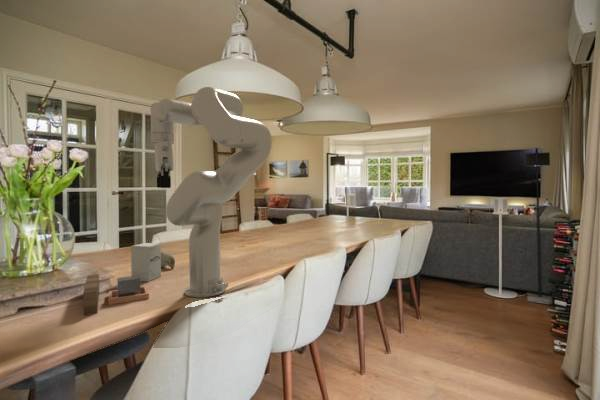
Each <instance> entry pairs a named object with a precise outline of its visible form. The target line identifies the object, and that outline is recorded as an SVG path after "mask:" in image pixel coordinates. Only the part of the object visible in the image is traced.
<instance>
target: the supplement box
mask: <svg viewBox="0 0 600 400" xmlns="http://www.w3.org/2000/svg"><path fill="white" fill-rule="evenodd" d="M161 249H162V248H161V243H160V242H159V243H158V242H144V243H140V244H134V245H131V246H130V253H131V254H130V257H131V258H130V259H131V261H130V262H131V265H130V266H131V276H138V275H139V277H140V282H151V281H153V280H155V279H157V278H160V277H161V276H162V267H161V251H162V250H161Z"/></svg>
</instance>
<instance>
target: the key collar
mask: <svg viewBox="0 0 600 400" xmlns="http://www.w3.org/2000/svg"><path fill="white" fill-rule="evenodd" d="M140 292H141V294H137V295H130V296H123V297H118V289H114V290H109V291H108V305H115V304H120V303H121V304H123V303H128V302H133V301H135V302H136V301H139V300H140V301H141V300H146V299H147V300H148V299H150V292H149V289H148V287H147V285H145V286H140ZM115 296H116V297H115Z"/></svg>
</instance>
